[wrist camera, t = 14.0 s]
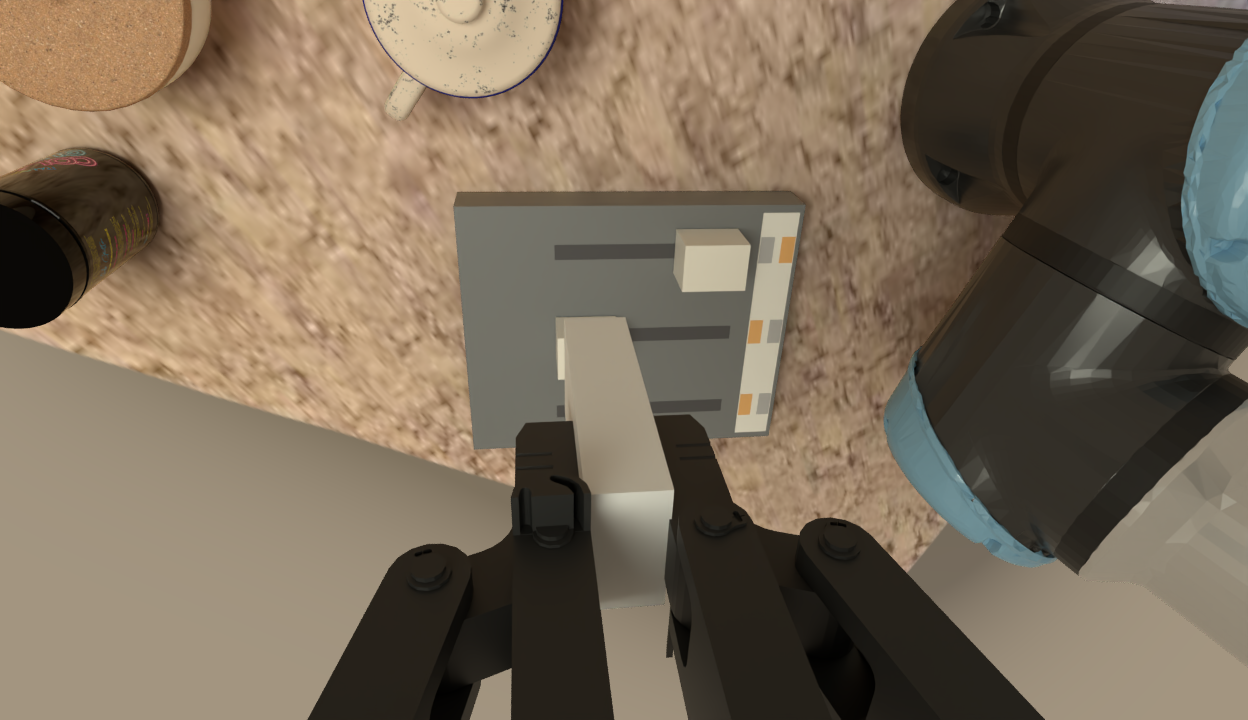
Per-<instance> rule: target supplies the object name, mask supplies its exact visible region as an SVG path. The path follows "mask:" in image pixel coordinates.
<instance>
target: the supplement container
mask: <svg viewBox="0 0 1248 720" xmlns="http://www.w3.org/2000/svg"><path fill="white" fill-rule="evenodd" d="M158 222H159V211H158V206H157V202H156V199H155V196H154V194H153V192H152V190H151V189H150V187H149V185H148V184H147V183H146V181H145V180H144V179H143V178H142V177H141V175H140V174H139V173H138V172H137V171H135V170H134V169H133V168H132V167H130V166H129V165H128V164H126V163H125V162H123V161H122V160H120V159H118V158H116V157H114V156H112V155H109V154H107V153H104V152H101V151H96V150H92V149H86V148H71V149H65V150H61V151H58V152H55V153H53V154H51V155H49V156H46V157H44V158H42V159H39V160H37V161H35V162H32V163H30V164H28V165H26V166H23V167H21V168H19V169H16V170H14V171H12V172H9V173H7V174H5V175H3V176H0V327H4V328H13V329H24V328H32V327H37V326H41V325H44V324H46V323H48V322H50V321H52V320H54V319H56V318H57V317H58V316H59V315H61V314H62V313H63V312H64V311H66V310H67V309H69V308H70V307H72V306H73V305H74V304H76V303H77V302H78V301H79V300H80V299H81V298H82V297H83V296H84V295H85V294H86V293H87V292H89V291H90V290H91V289H92V288H94V287H95V286H96V285H98V284H99V283H100V282H101V281H103V280H104V279H105V278H106V277H108V276H109V275H110V274H111V273H113V272H114V271H115V270H117V269H118V268H119V267H120V266H122V265H123V264H124V263H125V262H127V261H128V260H129V259H130V258H132V257H133V256H134V255H136V254H137V253H138V252H139V251H141V250H142V249H143V248H144V247H146V246H147V245H148V244H149V243H150V242H151V240H152V239H153V237H154V236H155V234H156V231H157V228H158Z"/></svg>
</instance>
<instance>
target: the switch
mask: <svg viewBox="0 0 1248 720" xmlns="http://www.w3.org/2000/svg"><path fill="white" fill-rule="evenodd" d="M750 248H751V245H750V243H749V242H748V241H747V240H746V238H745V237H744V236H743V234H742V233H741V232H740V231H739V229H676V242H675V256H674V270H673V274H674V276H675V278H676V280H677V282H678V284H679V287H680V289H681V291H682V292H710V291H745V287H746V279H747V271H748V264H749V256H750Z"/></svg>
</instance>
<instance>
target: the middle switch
mask: <svg viewBox="0 0 1248 720" xmlns="http://www.w3.org/2000/svg"><path fill="white" fill-rule="evenodd" d="M609 317H616V316H592V317H556V362H557V373H558V380H565V360H564V319H568V318H609Z"/></svg>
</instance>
